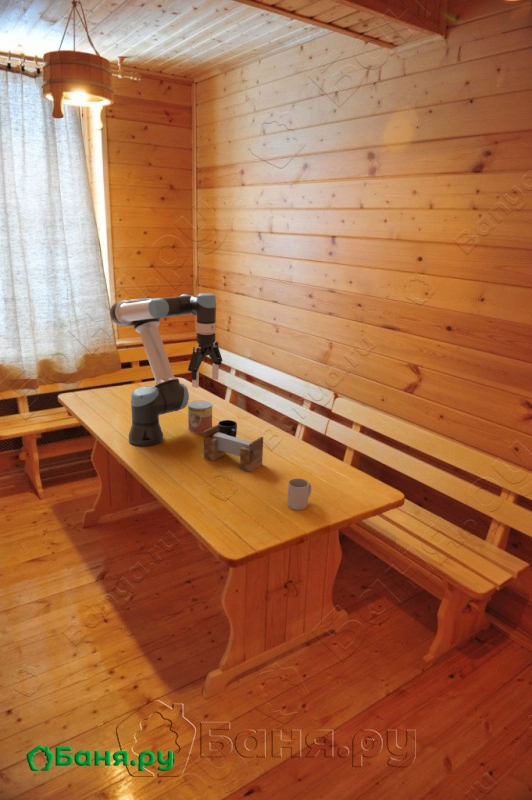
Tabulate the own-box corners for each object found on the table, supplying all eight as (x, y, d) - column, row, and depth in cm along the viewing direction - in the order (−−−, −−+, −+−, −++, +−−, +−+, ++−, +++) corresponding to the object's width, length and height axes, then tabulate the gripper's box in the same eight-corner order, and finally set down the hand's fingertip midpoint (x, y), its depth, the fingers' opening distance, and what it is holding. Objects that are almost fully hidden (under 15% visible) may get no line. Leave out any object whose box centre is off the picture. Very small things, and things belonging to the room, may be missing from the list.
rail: (212, 448, 238) (212, 435, 236) (217, 445, 241) (217, 432, 239) (250, 459, 229) (251, 445, 227) (255, 456, 232) (256, 443, 230)
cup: (282, 504, 204) (284, 482, 201) (302, 496, 210) (304, 474, 207) (296, 512, 198) (298, 489, 196) (317, 504, 205) (318, 481, 202)
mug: (225, 451, 246) (225, 430, 242) (215, 441, 256) (215, 421, 253) (243, 448, 249) (243, 428, 246) (232, 438, 259) (232, 419, 256)
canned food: (183, 430, 266) (183, 406, 263) (195, 422, 276) (195, 399, 273) (205, 434, 263) (205, 410, 259) (216, 426, 273) (216, 402, 269)
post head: (204, 457, 238) (204, 431, 234) (216, 450, 246) (216, 424, 242) (213, 460, 236) (213, 434, 232) (226, 453, 243) (226, 427, 239)
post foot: (239, 468, 230) (240, 441, 226) (251, 461, 237) (252, 434, 233) (250, 472, 227) (251, 444, 223) (262, 464, 235) (263, 437, 231)
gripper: (194, 339, 217) (194, 392, 224) (231, 329, 237) (230, 377, 244) (178, 336, 221) (179, 388, 228) (216, 326, 241) (215, 374, 248)
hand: (205, 383), depth 236 cm, fingers open, 13 cm apart
